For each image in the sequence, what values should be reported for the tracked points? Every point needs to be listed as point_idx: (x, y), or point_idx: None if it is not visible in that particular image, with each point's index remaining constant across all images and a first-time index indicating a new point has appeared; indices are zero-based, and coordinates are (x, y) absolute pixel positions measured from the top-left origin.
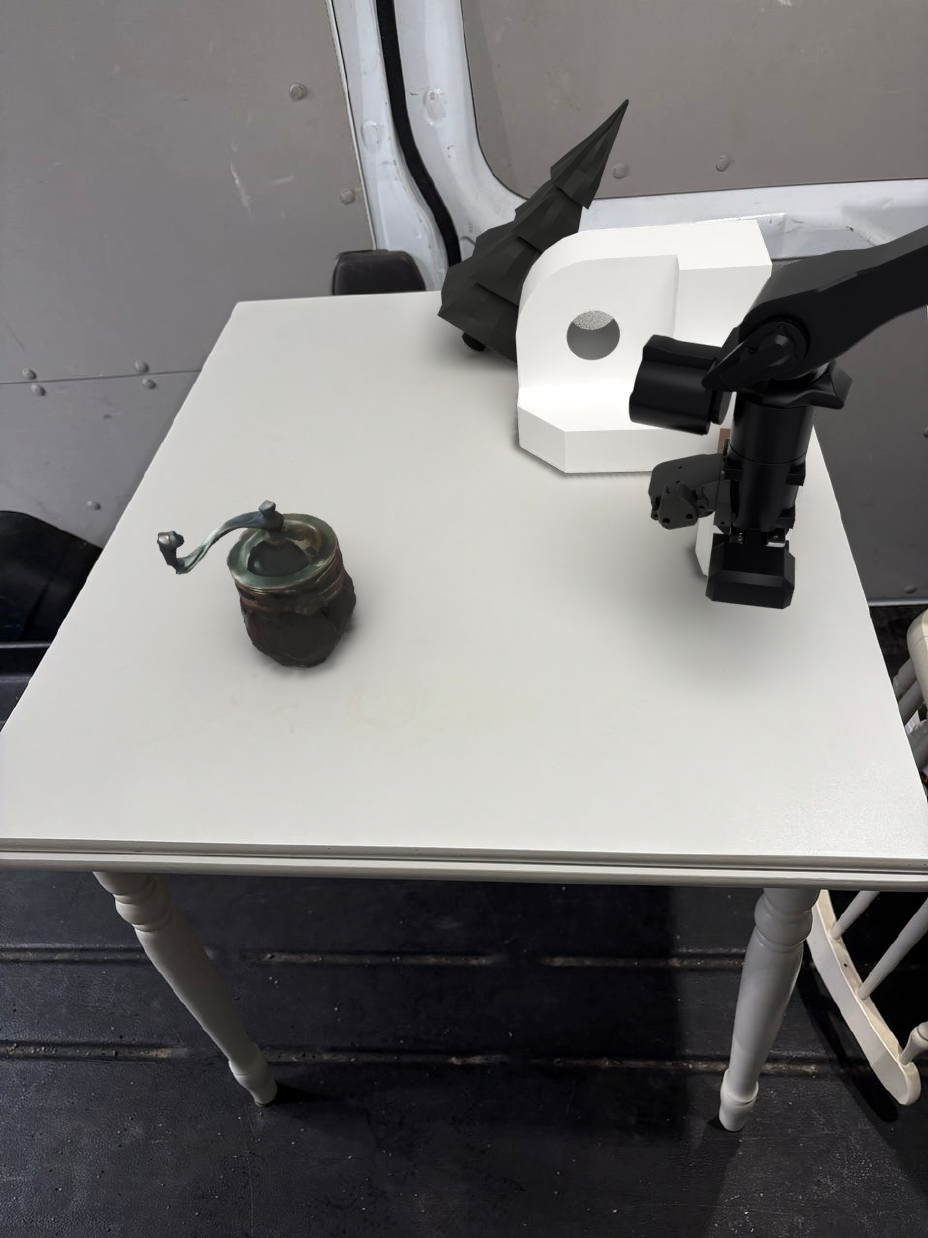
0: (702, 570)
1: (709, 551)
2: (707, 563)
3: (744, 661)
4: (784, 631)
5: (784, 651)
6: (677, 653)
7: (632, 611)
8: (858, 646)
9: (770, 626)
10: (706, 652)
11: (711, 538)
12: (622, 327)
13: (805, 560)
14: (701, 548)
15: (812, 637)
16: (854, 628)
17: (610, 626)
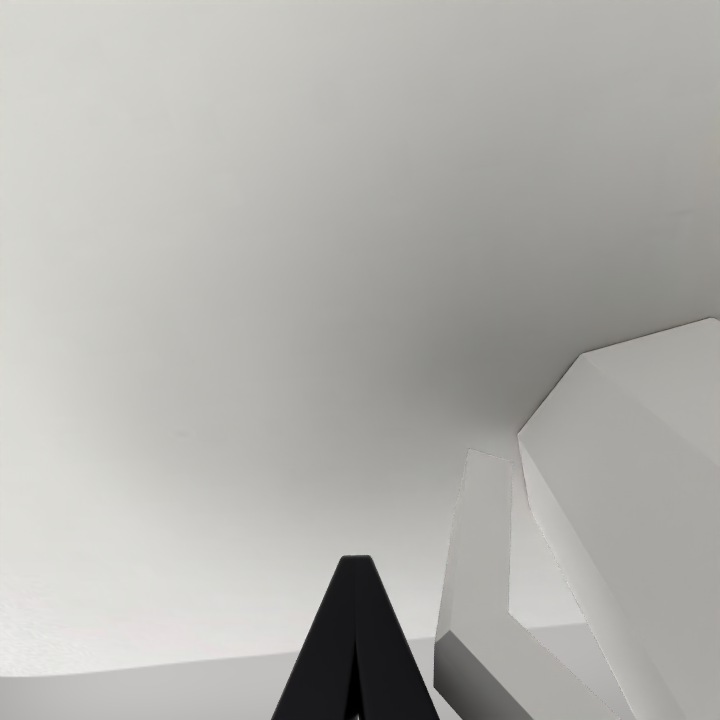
0: (597, 352)
1: (647, 426)
2: (605, 389)
3: (231, 474)
4: (359, 540)
5: (294, 541)
6: (192, 312)
7: (356, 105)
8: None
9: (370, 516)
10: (229, 391)
11: (710, 483)
12: None
13: None
14: (695, 370)
15: None
16: None
17: (237, 3)
